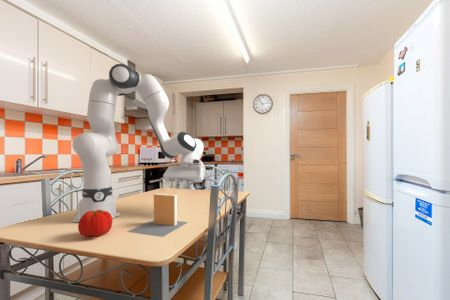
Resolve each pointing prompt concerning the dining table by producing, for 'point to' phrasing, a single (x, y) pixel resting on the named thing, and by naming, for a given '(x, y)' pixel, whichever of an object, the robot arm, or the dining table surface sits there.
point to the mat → (156, 228)
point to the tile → (165, 209)
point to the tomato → (95, 223)
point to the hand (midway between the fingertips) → (177, 187)
